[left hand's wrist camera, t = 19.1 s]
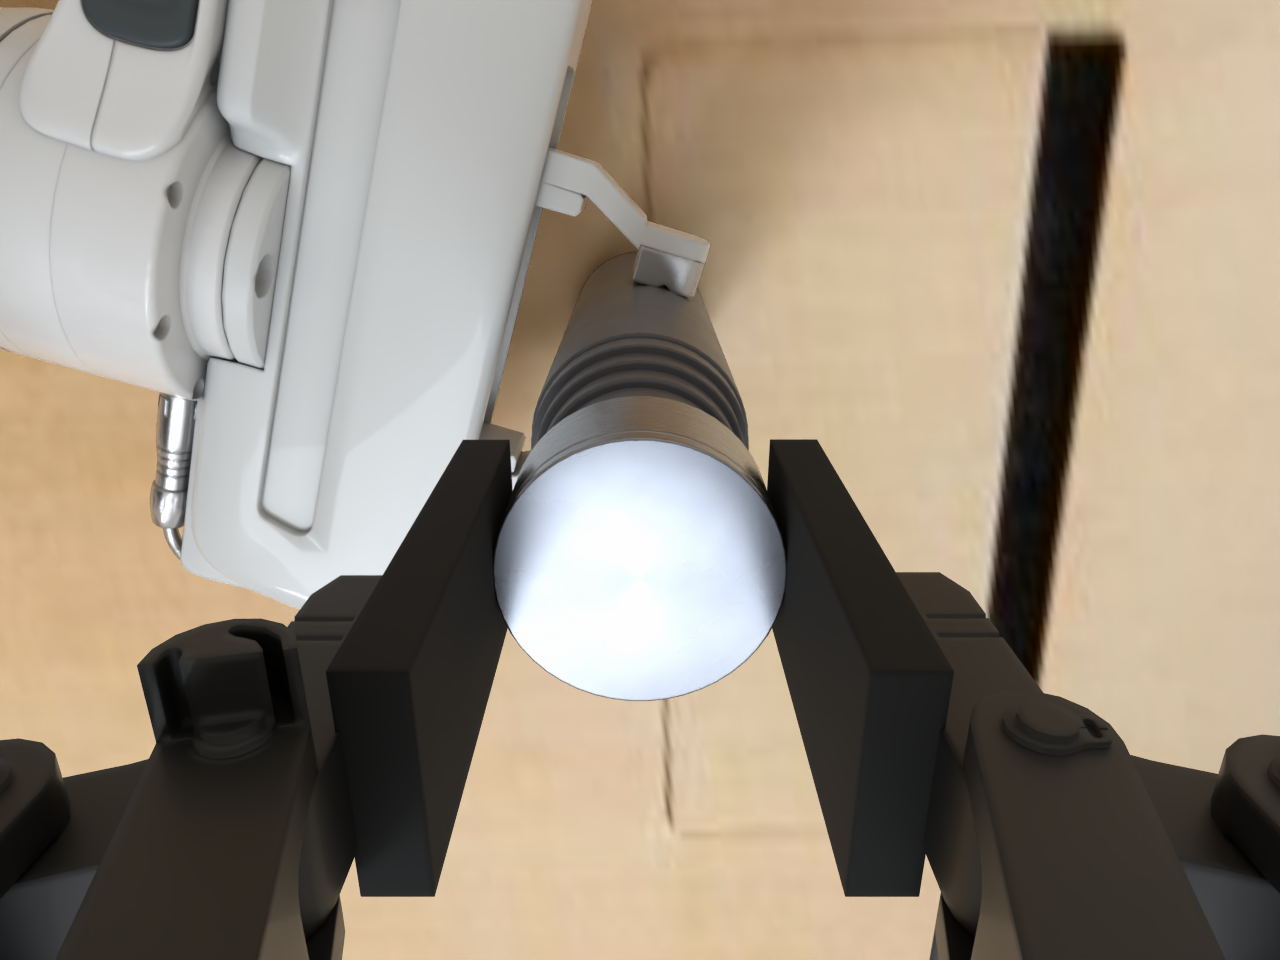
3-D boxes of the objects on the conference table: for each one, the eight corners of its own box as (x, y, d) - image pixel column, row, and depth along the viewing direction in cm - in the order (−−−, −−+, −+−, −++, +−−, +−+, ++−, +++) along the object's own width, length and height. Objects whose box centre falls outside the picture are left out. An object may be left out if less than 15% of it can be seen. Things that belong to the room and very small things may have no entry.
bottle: (675, 230, 30) (727, 364, 12) (722, 350, 31) (830, 628, 13) (555, 282, 30) (435, 483, 12) (607, 397, 32) (565, 722, 14)
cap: (671, 669, 15) (676, 746, 13) (464, 549, 14) (437, 612, 13) (819, 486, 14) (849, 542, 12) (602, 343, 13) (596, 377, 11)
